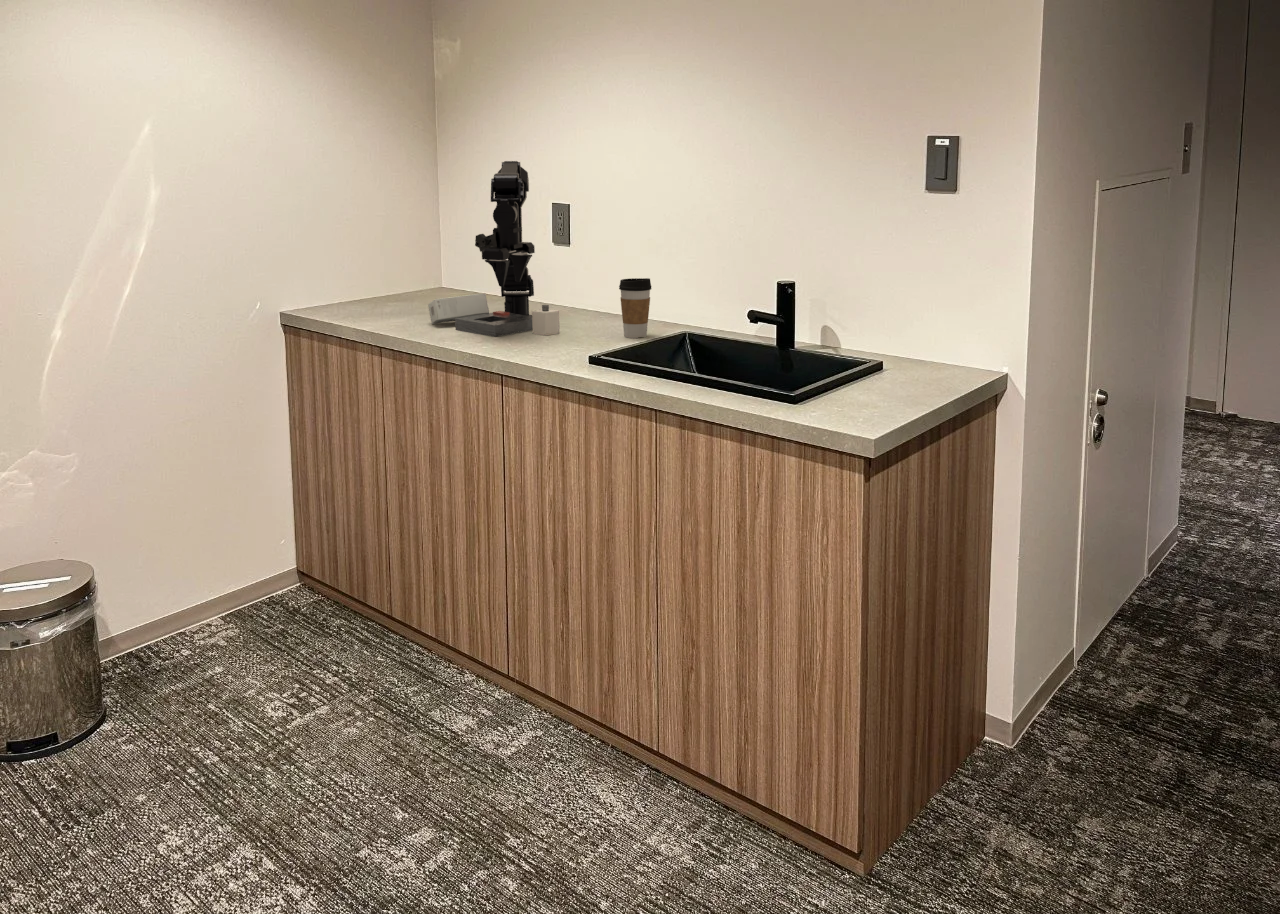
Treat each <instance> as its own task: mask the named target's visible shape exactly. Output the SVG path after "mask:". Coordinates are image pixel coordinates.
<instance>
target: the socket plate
mask: <svg viewBox="0 0 1280 914" xmlns="http://www.w3.org/2000/svg"><path fill="white" fill-rule="evenodd" d="M454 322H455V324H454V326H455V327H454V328H455V330H456V331H460V332H465V333H471V334H472V333H473V334H478V335H483V336H489V337H490V336H491V337H495V338H496V337H502V336H507V335H513V334H518V333H522V332H523V333H524V332H528V331H533V325H532V316H526V315H520V314H513V313H509V312H505V310H504V311H503V310H496V311H492V312H489V313H487V314H481V315H475V316H468V317H462V318H456V319H455V321H454Z"/></svg>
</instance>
